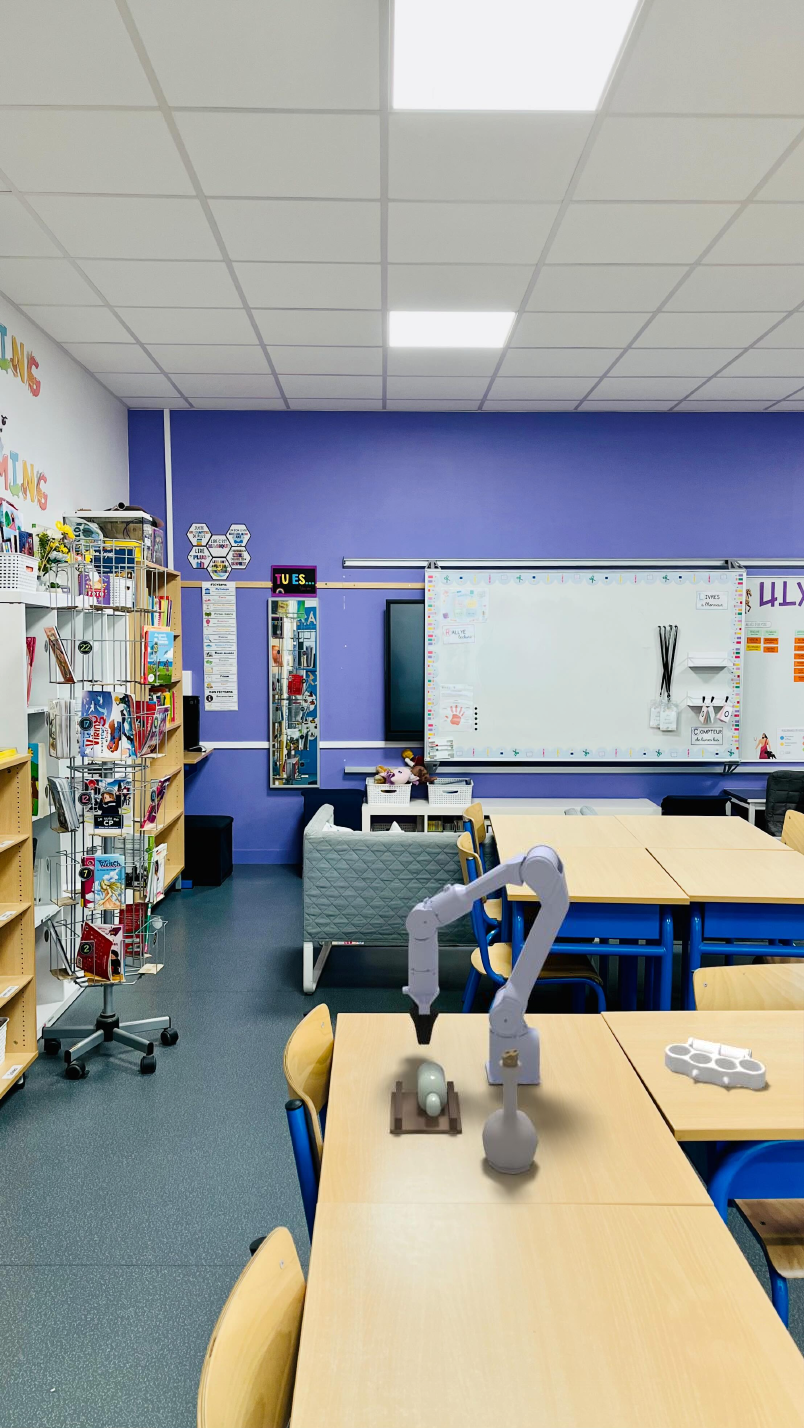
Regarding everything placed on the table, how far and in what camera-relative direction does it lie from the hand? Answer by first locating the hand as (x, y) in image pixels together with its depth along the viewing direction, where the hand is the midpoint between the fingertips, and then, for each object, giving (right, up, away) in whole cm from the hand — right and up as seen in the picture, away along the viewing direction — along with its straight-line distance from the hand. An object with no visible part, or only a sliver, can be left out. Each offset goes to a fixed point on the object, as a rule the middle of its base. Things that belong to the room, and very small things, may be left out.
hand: (423, 1034), depth 162 cm
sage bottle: (+1, -4, -10) cm, 11 cm away
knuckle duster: (+56, -7, -2) cm, 56 cm away
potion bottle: (+13, -8, -30) cm, 34 cm away
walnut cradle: (0, -7, -17) cm, 18 cm away
